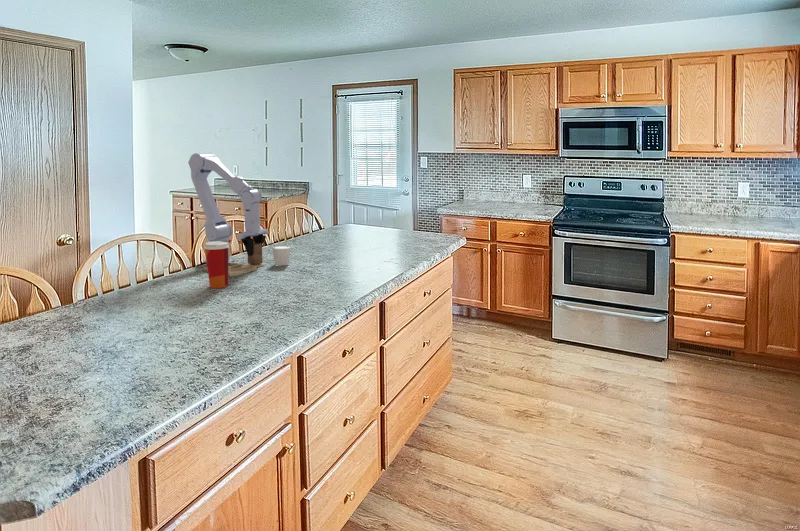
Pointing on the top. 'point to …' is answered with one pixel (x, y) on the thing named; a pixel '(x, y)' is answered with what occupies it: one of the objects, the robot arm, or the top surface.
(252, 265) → the cork pad
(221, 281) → the coffee cup
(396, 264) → the top surface
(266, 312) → the top surface
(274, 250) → the white tapered cup
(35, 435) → the top surface
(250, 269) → the pocket board
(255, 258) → the walnut post
